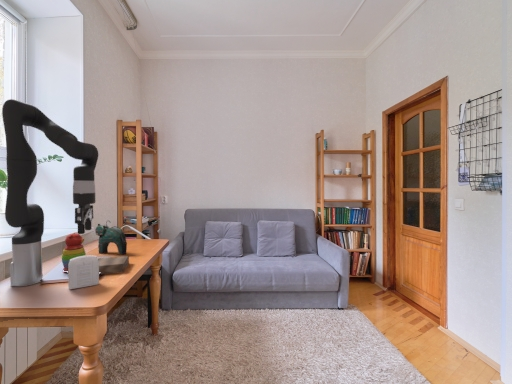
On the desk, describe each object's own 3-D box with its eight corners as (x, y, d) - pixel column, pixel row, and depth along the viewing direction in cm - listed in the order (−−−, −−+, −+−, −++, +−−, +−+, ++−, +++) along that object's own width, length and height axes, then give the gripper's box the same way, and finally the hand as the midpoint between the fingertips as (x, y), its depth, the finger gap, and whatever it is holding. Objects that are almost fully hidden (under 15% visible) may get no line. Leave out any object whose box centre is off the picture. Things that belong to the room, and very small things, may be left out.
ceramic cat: (94, 253, 151) (93, 220, 151) (104, 251, 158) (103, 219, 157) (121, 256, 146) (120, 221, 145) (129, 253, 152) (129, 220, 151)
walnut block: (89, 275, 114) (88, 266, 114) (98, 266, 127) (98, 258, 127) (123, 272, 118) (123, 263, 118) (128, 263, 132) (128, 255, 132)
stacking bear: (82, 272, 118) (81, 235, 117) (57, 275, 115) (56, 236, 115) (91, 265, 128) (90, 231, 128) (68, 267, 126) (67, 232, 125)
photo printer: (99, 281, 107) (98, 252, 107) (99, 284, 103) (98, 255, 103) (68, 287, 101) (68, 256, 101) (68, 290, 98) (67, 259, 97)
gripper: (79, 191, 108) (80, 229, 108) (66, 192, 94) (67, 235, 94) (99, 191, 110) (100, 228, 110) (89, 192, 96) (90, 234, 97)
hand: (84, 231), depth 102 cm, fingers open, 8 cm apart
